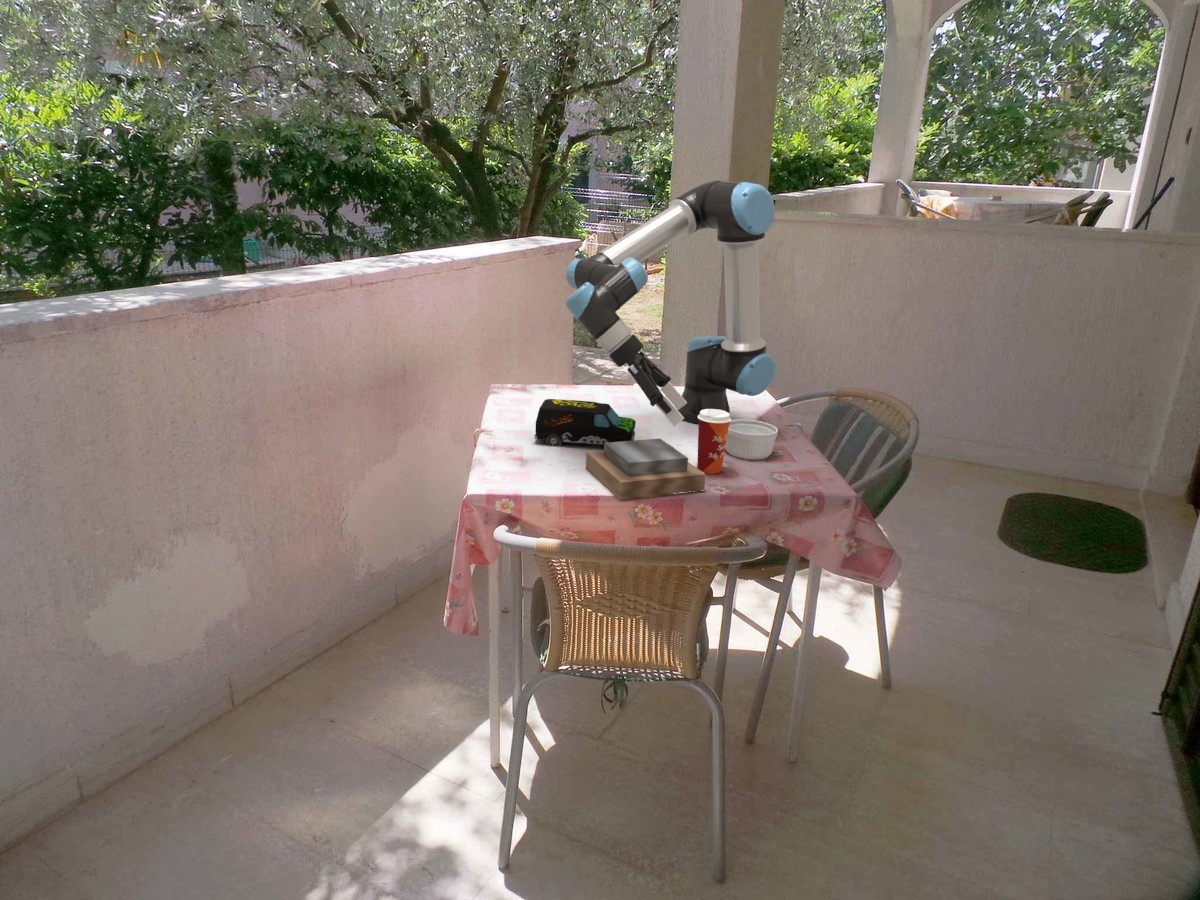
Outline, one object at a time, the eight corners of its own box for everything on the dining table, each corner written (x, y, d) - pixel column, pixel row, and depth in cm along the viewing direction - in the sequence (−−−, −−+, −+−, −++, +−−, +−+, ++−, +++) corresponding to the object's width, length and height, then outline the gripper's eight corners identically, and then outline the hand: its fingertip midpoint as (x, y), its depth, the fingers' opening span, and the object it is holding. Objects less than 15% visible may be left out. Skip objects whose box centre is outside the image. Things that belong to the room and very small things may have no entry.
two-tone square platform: (663, 461, 203) (665, 433, 201) (704, 491, 186) (706, 461, 183) (585, 468, 196) (587, 439, 193) (620, 500, 178) (621, 468, 176)
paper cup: (717, 478, 194) (723, 419, 190) (687, 470, 198) (692, 413, 193) (731, 469, 200) (737, 412, 196) (701, 462, 204) (707, 406, 200)
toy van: (632, 453, 208) (635, 414, 205) (532, 445, 210) (534, 406, 207) (635, 440, 218) (638, 403, 215) (540, 433, 220) (541, 395, 217)
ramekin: (782, 452, 215) (786, 426, 213) (762, 465, 204) (765, 438, 202) (734, 441, 222) (737, 415, 219) (712, 453, 211) (715, 427, 209)
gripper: (615, 344, 205) (672, 409, 208) (600, 366, 182) (664, 439, 185) (638, 323, 203) (695, 390, 206) (626, 343, 179) (691, 418, 182)
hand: (681, 414), depth 195 cm, fingers open, 13 cm apart
